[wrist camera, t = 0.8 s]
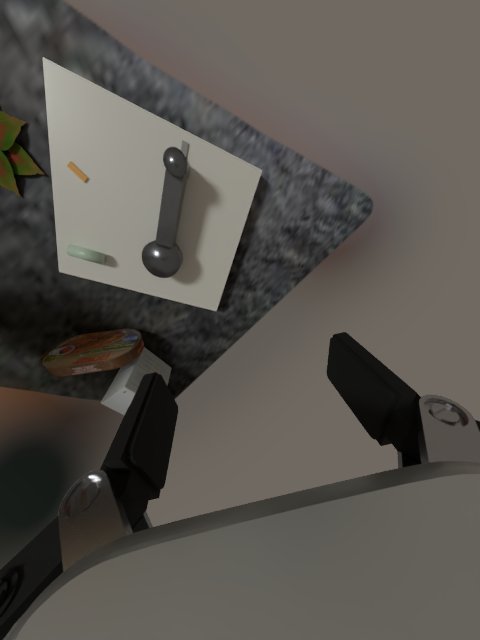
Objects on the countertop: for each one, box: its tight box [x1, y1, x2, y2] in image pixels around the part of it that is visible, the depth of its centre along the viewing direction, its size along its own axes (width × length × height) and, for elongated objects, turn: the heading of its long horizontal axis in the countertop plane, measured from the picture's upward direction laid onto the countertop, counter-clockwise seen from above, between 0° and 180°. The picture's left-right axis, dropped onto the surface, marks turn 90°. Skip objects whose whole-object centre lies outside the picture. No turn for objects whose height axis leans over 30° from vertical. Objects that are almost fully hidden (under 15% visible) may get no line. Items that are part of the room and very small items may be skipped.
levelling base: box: [43, 57, 262, 311], centre depth 26 cm, size 24×22×4 cm
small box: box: [101, 347, 172, 415], centre depth 35 cm, size 8×6×10 cm
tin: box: [40, 329, 144, 377], centre depth 32 cm, size 15×3×8 cm, turn 93°
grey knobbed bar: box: [142, 147, 190, 278], centre depth 24 cm, size 15×5×4 cm, turn 160°
